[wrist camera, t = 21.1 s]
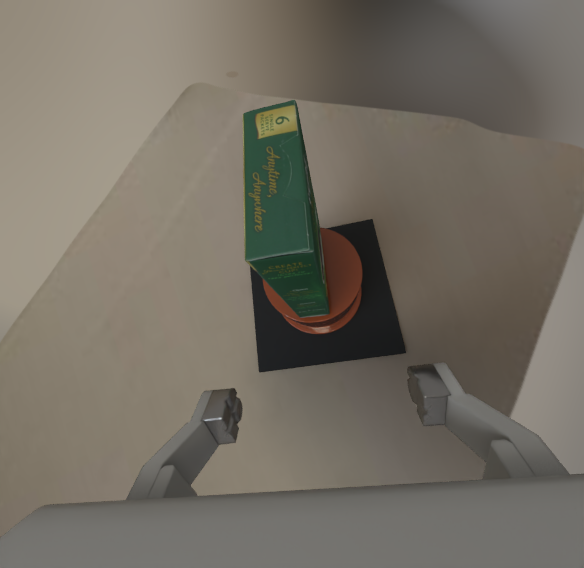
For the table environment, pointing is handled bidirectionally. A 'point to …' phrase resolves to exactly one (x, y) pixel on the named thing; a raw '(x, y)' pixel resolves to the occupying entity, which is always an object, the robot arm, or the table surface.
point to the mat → (349, 339)
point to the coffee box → (282, 210)
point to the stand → (330, 287)
